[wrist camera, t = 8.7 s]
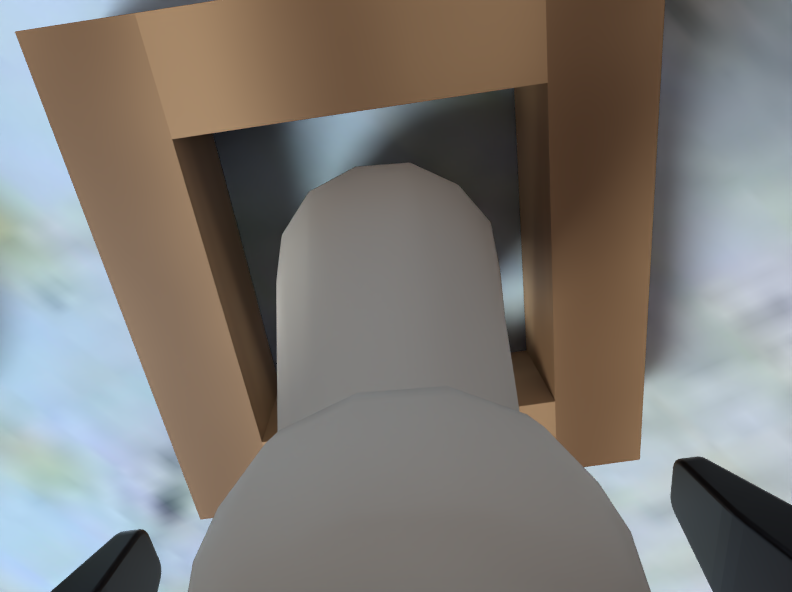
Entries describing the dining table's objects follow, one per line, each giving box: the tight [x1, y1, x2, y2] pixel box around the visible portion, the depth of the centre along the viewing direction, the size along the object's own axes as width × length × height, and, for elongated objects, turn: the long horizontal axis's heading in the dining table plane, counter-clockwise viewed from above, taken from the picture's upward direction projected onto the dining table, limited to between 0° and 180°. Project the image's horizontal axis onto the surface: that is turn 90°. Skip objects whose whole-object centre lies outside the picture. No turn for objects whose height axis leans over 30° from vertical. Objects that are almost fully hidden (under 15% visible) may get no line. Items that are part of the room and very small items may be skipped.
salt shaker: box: [188, 162, 651, 592], centre depth 10 cm, size 6×6×13 cm
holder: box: [15, 0, 665, 519], centre depth 14 cm, size 13×13×3 cm
